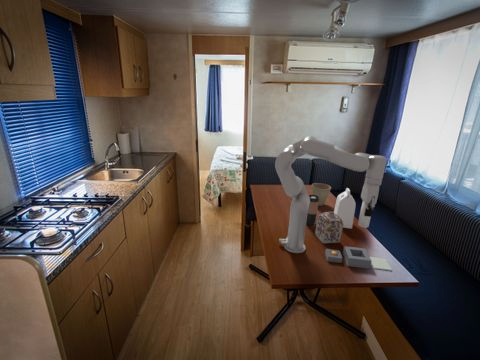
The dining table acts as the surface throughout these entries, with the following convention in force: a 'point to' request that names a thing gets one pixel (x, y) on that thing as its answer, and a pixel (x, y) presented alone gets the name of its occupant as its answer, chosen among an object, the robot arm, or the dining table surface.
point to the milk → (345, 208)
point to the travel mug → (312, 209)
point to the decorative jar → (329, 227)
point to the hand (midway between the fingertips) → (365, 213)
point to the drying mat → (380, 263)
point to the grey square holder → (356, 257)
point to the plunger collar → (333, 256)
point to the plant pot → (321, 192)
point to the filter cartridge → (364, 217)
